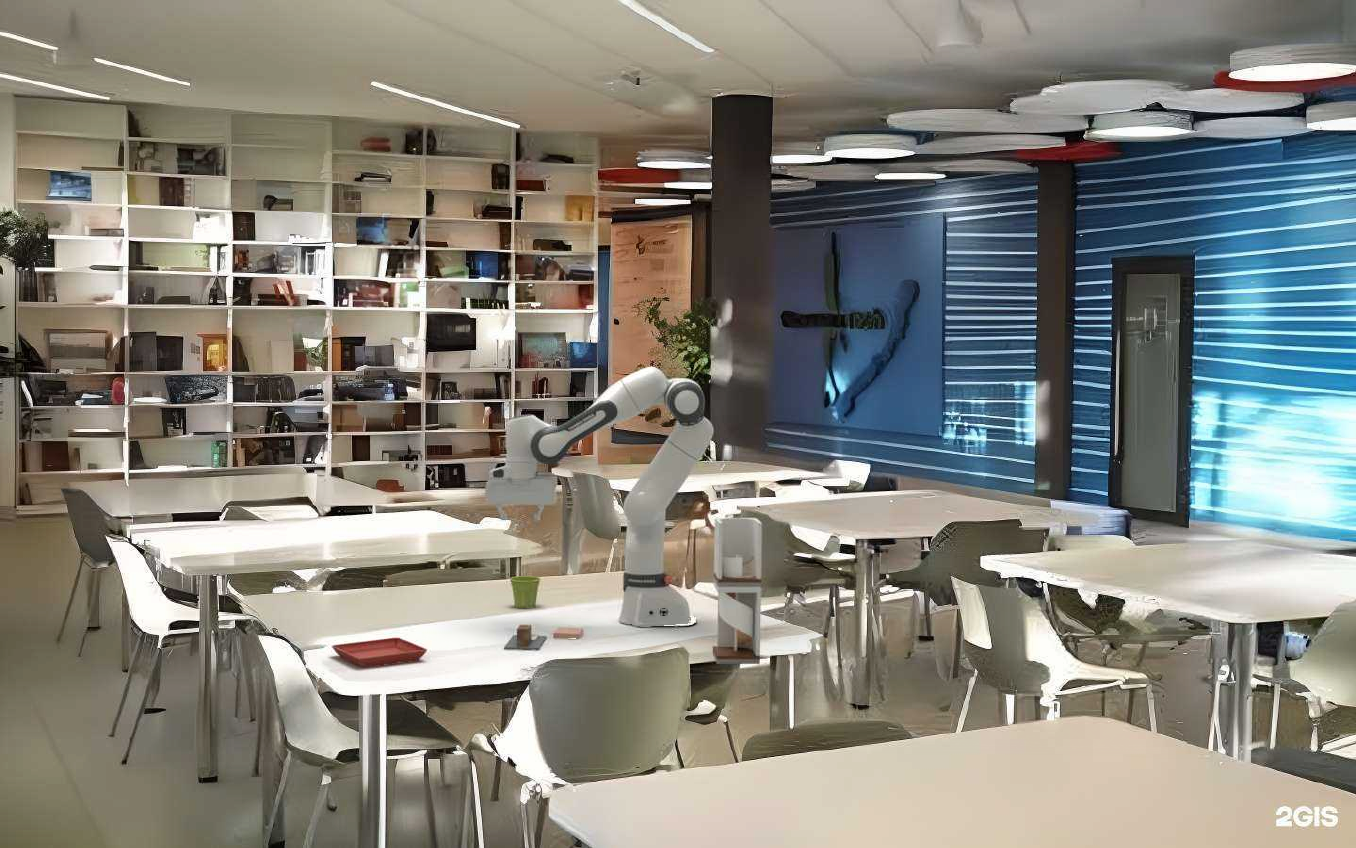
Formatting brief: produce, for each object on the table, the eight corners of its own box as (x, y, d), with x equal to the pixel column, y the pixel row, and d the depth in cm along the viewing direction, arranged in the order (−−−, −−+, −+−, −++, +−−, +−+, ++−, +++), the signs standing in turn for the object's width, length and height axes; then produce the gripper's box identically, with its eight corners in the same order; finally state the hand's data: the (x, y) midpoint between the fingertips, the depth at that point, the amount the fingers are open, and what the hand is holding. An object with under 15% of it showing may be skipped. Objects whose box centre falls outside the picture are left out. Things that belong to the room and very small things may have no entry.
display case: (712, 654, 351) (714, 517, 350) (753, 654, 352) (756, 518, 351) (716, 664, 340) (719, 523, 339) (759, 664, 341) (762, 523, 339)
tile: (578, 641, 368) (583, 635, 376) (578, 634, 368) (583, 628, 376) (552, 640, 369) (558, 634, 377) (553, 633, 369) (558, 627, 376)
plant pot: (525, 610, 409) (526, 581, 409) (502, 607, 415) (503, 578, 415) (547, 606, 417) (547, 578, 417) (524, 603, 423) (524, 575, 422)
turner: (538, 636, 368) (538, 620, 368) (532, 646, 355) (532, 629, 355) (519, 636, 368) (520, 619, 368) (512, 646, 355) (512, 629, 355)
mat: (546, 638, 369) (546, 635, 369) (538, 650, 353) (538, 648, 353) (513, 637, 369) (513, 635, 369) (503, 649, 354) (503, 647, 353)
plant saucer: (358, 671, 328) (358, 657, 328) (330, 657, 343) (330, 644, 343) (428, 662, 339) (428, 649, 338) (398, 650, 353) (398, 637, 353)
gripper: (558, 471, 392) (558, 519, 393) (487, 470, 393) (487, 518, 393) (556, 473, 386) (555, 522, 386) (483, 471, 386) (483, 520, 387)
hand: (520, 520), depth 390 cm, fingers open, 8 cm apart
